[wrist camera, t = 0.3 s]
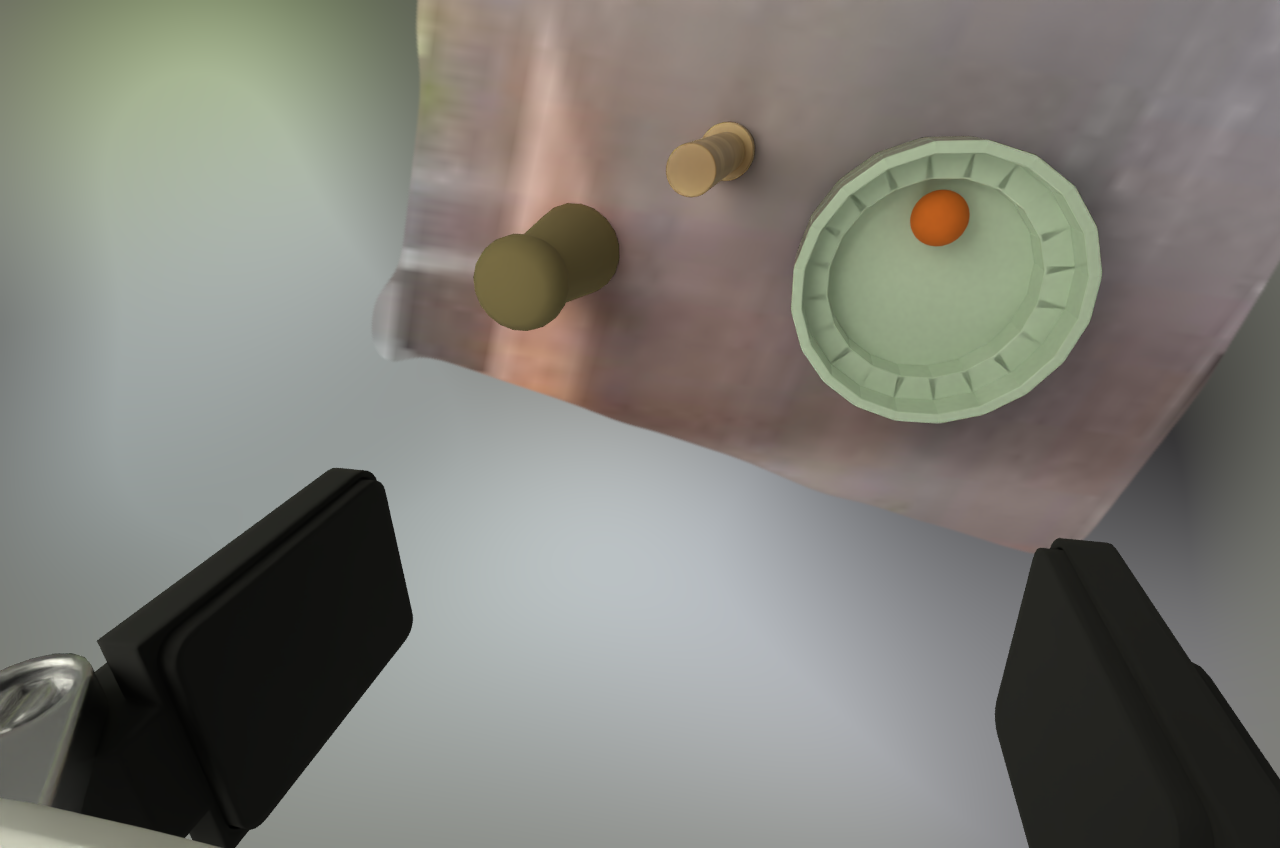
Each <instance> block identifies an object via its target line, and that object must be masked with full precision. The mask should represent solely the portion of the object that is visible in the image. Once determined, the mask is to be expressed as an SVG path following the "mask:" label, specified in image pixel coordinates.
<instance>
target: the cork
mask: <svg viewBox="0 0 1280 848" xmlns="http://www.w3.org/2000/svg"><path fill="white" fill-rule="evenodd" d="M618 261H619V244H618V241H617V238H616V235H615V232H614V230H613V228H612V227H611V225H610V224H609V222H608V221H607V219H606V218H605V217H604V216H602V215H601V214H600V213H599V212H597V211H596V210H595V209H593V208H590V207H588V206H585V205H582V204H568V203H567V204H564V205H561V206H558V207H555V208H553V209H552V210H551V211H549V212H548V213H547V214H546V215H544V216H543V217H542V218H541V219H540V220H539V221H538V222H537V223H536V224H535V225H533V226H532V227H531V228H530V229H529V230H528V231H527V232H526V233H525V234H511V235H508V236H505V237H502V238H499V239H497V240H495V241H494V242H493V243H491V244H490V245H489V246H488V247H486V248H485V250H484V251H483V252H482V254H481V256H480V258H479V259H478V261H477V263H476V266H475V272H474V277H473V278H474V286H475V292H476V295H477V297H478V300H479V302H480V305H481V306H482V307H483V309H484V310H485V311H486V313H487V314H488V315H489V316H490V317H491V318H492V319H494V320H495V321H496V322H498V323H499V324H500V325H502V326H505V327H507V328H510V329H512V330H522V331H528V330H533V329H537V328H540V327H543V326H545V325H546V324H548V323H549V322H551V321H552V320H553V319H555V318H556V317H557V316H558V314H559V313H560V311H561V310H562V309H563V307H564V306H565V303H566V302H569V301H572V300H574V299H577V298H580V297H582V296H585V295H588V294H591V293H593V292H596V291H598V290H599V289H601V288H602V287H603V286H605V285H606V284H608V282H609V281H610V279H611V278H612V276H613V275H614V274H615V271H616V268H617V265H618Z"/></svg>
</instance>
